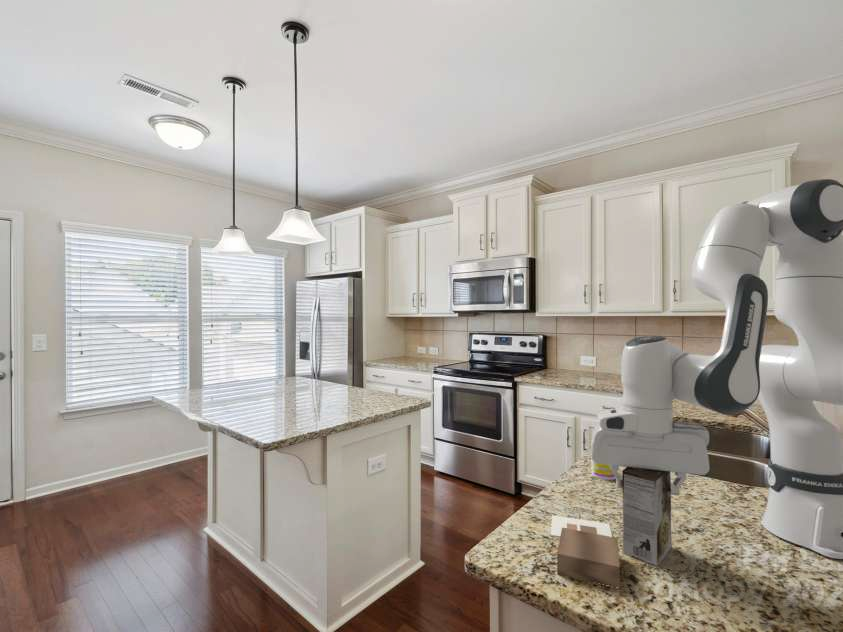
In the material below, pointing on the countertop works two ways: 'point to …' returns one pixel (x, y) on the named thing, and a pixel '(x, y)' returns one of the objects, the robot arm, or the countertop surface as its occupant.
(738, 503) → the countertop surface
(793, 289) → the robot arm
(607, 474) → the supplement bottle
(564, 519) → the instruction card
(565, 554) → the base block
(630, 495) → the coffee box
